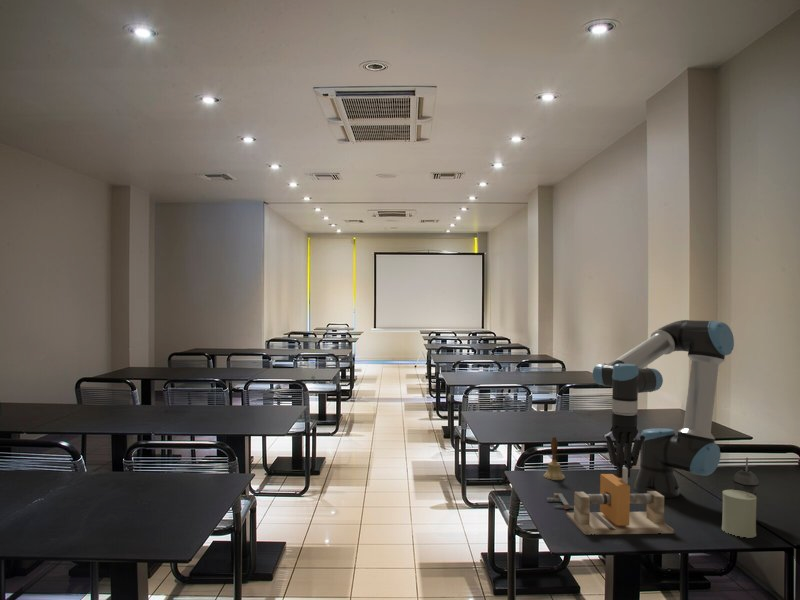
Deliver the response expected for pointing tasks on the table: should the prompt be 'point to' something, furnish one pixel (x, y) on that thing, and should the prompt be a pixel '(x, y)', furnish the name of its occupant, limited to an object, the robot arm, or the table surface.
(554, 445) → the hand bell
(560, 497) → the clamp
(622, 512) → the orange slotted block
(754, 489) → the beverage cup
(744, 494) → the pale green cylinder
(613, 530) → the pipe rig
